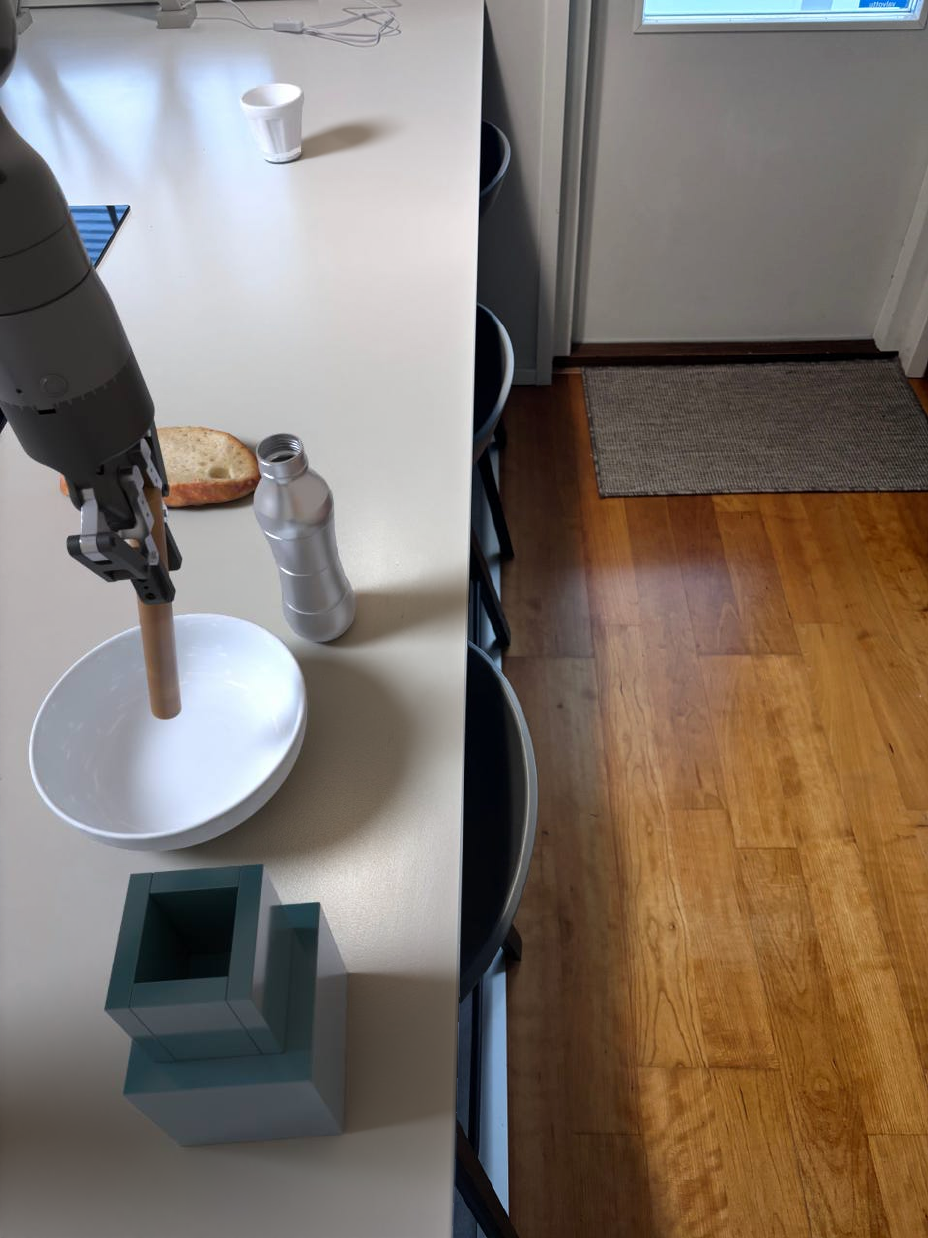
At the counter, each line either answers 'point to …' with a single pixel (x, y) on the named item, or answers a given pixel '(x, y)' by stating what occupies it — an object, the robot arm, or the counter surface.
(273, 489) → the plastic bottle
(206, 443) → the bread slice
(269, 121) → the cup
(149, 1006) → the utensil holder
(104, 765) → the serving bowl
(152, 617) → the stick
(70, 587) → the counter surface
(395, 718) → the counter surface
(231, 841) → the counter surface
